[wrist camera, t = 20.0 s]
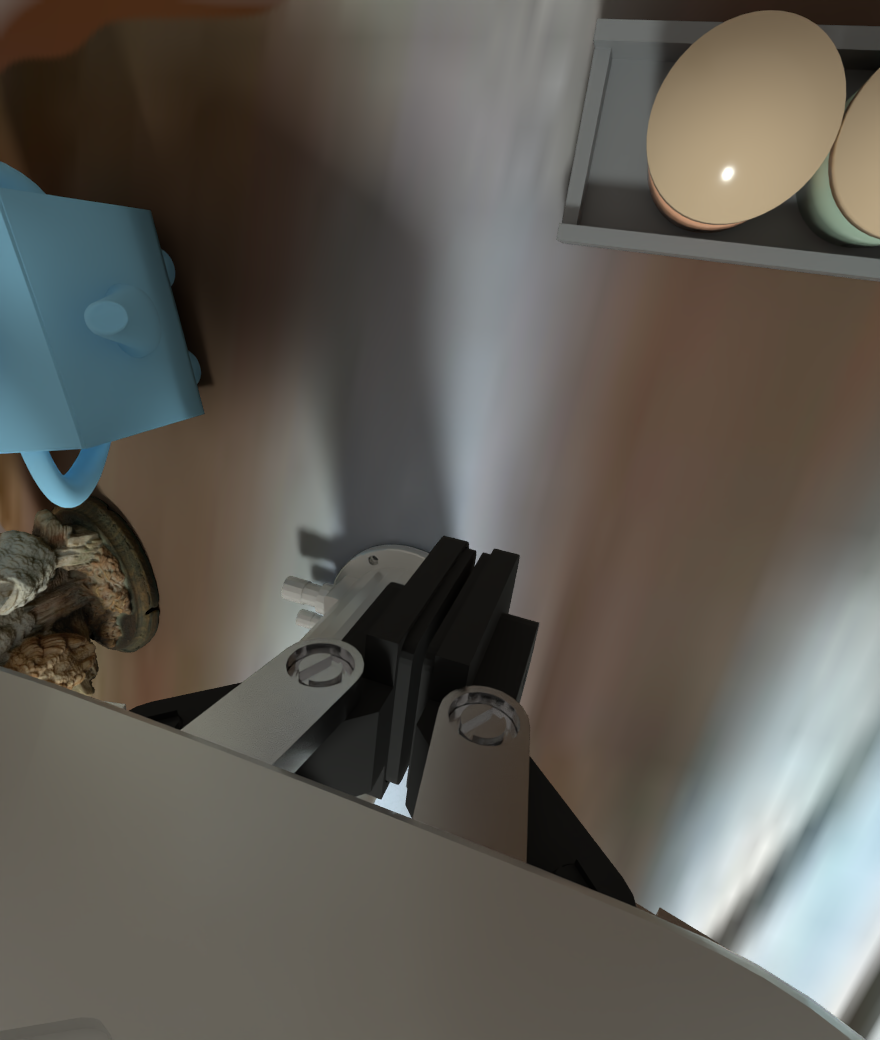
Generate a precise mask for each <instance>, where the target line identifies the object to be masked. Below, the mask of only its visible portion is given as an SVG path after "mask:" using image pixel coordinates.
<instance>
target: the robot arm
mask: <svg viewBox="0 0 880 1040" xmlns="http://www.w3.org/2000/svg"><path fill="white" fill-rule="evenodd" d="M519 557H520V556H519V555H518V554H514V553H510V552H506V551H502V550H498V549H494V550H493V551H492V553H491V554H487V553H482V555H481V557H480V558H479V560H478V562H477V563H476V565H475V560H476V551H475V550H472V549H469V543H468V542H467V541H463V540H459V539H455V538H451V537H447V536H443V537H442V538H441V539H440V540H439V542H438V543H437V544H436V546H435V547H434V548H433V549H432V551H431V552H430V553H427V552H425V551H422V550H419V549H416V548H414V547H409V546H403V545H380V546H376V547H371V548H369V549H367V550H364V551H362V552H360V553H359V554H357V555H356V556H355V557H353V558H352V559H351V560H350V561H349V562H348V563H347V564H346V565H345V566H344V567H343V568H342V569H341V571H340V572H339V574H338V575H337V577H336V579H335V581H334V585H333V584H330V583H325V584H323V586H320V585H317V584H313V583H312V582H311V581H307V580H304V579H300V578H297V577H293V576H289V577H288V578H287V579H286V580H285V582H284V583H283V586H282V590H281V595H282V598H284V599H287V600H290V601H293V602H296V603H300V604H303V605H304V604H307V605H310V606H313V607H315V609H316V612H318V613H320V614H323V615H324V616H322V615H318V614H317V613H314V612H311V611H308V610H305V609H301V610H300V611H299V613H298V615H297V617H296V624H297V625H299V626H302V627H305V628H308V629H310V631H309V632H308V633H307V634H306V635H305V636H304V637H303V638H302V639H301V640H300V641H299V642H297V643H295V644H293V645H292V646H290V647H288V648H287V649H285V650H284V651H283V652H281V653H280V654H279V655H278V656H276V657H275V658H274V659H272V660H271V661H270V662H268V663H267V664H266V665H264V666H263V667H262V668H261V669H259V670H258V671H257V672H255V673H254V674H253V675H251V676H250V677H249V678H248V679H246V680H245V681H244V682H242V683H237V684H233V685H228V686H223V687H219V688H214V689H209V690H205V691H200V692H195V693H191V694H186V695H181V696H177V697H172V698H167V699H162V700H158V701H153V702H150V703H146V704H143V705H140V706H137V707H135V708H133V709H131V710H129V711H127V710H126V704H119V703H113V702H106V701H101V700H98V699H95V698H92V697H90V696H87V695H84V694H81V693H78V692H76V691H73V690H70V689H67V688H65V687H62V686H59V685H56V684H54V683H50V682H47V681H44V680H41V679H38V678H35V677H32V676H29V675H26V674H23V673H20V672H17V671H14V670H11V669H7V668H4V667H1V666H0V1040H866V1039H864V1038H863V1037H862V1036H860V1035H859V1034H858V1033H856V1032H855V1031H854V1030H852V1029H851V1028H850V1027H849V1026H847V1025H846V1024H845V1023H843V1022H842V1021H841V1020H839V1019H838V1018H837V1017H835V1016H834V1015H833V1014H831V1013H830V1012H829V1011H827V1010H826V1009H825V1008H823V1007H822V1006H821V1005H820V1004H818V1003H817V1002H816V1001H814V1000H813V999H811V998H810V997H808V996H807V995H805V994H804V993H802V992H800V991H799V990H797V989H796V988H794V987H792V986H791V985H789V984H788V983H786V982H784V981H783V980H781V979H780V978H778V977H776V976H775V975H773V974H772V973H770V972H769V971H767V970H765V969H764V968H762V967H761V966H759V965H757V964H755V963H753V962H751V961H749V960H748V959H746V958H744V957H742V956H740V955H738V954H736V953H734V952H732V951H731V950H729V949H727V948H726V947H724V946H722V945H721V944H719V943H718V942H716V941H714V940H713V939H711V938H709V937H708V936H706V935H704V934H703V933H701V932H699V931H698V930H696V929H694V928H693V927H691V926H690V925H688V924H686V923H685V922H683V921H681V920H680V919H678V918H676V917H675V916H673V915H671V914H670V913H668V912H666V911H665V910H663V909H662V908H659V910H658V912H657V914H656V915H655V914H653V913H652V912H650V911H648V910H647V909H645V908H643V907H642V906H640V905H639V904H637V903H635V900H634V897H633V894H632V892H631V891H630V889H629V887H628V886H627V884H626V882H625V881H624V879H623V877H622V876H621V875H620V873H619V872H618V871H617V869H616V868H615V867H614V866H613V864H612V863H611V862H610V860H609V859H608V858H607V856H606V855H605V854H604V852H603V851H602V850H601V849H600V847H599V846H598V845H597V843H596V842H595V841H594V839H593V838H592V837H591V835H590V834H589V833H588V832H587V830H586V829H585V828H584V826H583V825H582V824H581V822H580V821H579V820H578V819H577V817H576V816H575V815H574V813H573V812H572V811H571V809H570V808H569V807H568V805H567V804H566V803H565V802H564V800H563V799H562V798H561V796H560V795H559V794H558V792H557V791H556V790H555V788H554V787H553V786H552V785H551V783H550V782H549V781H548V779H547V778H546V777H545V775H544V774H543V773H542V771H541V770H540V769H539V768H538V766H537V765H536V764H535V762H534V761H533V760H532V758H531V757H530V756H529V752H530V724H529V718H528V715H527V714H526V712H525V710H524V709H523V707H522V706H521V705H520V704H519V703H520V699H521V696H522V692H523V689H524V685H525V681H526V677H527V673H528V669H529V665H530V661H531V657H532V653H533V649H534V644H535V640H536V636H537V632H538V627H539V623H538V622H535V621H531V620H528V619H524V618H520V617H517V616H513V615H510V614H508V613H509V608H510V603H511V598H512V593H513V588H514V583H515V578H516V573H517V569H518V564H519ZM474 566H475V567H474ZM408 766H409V769H408V777H407V785H406V787H407V788H408V789H407V796H406V803H405V805H406V807H407V809H408V811H409V813H410V815H411V817H412V819H411V818H409V817H406V816H404V815H401V814H398V813H396V812H393V811H391V810H388V809H386V808H383V807H380V806H378V805H375V804H374V802H375V800H376V798H378V799H382V797H383V795H384V793H385V791H386V789H387V787H388V785H389V783H390V782H392V783H394V784H397V785H399V784H400V782H401V780H402V779H403V776H404V774H405V772H406V770H407V768H408Z"/></svg>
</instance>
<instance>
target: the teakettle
mask: <svg viewBox="0 0 880 1040" xmlns="http://www.w3.org/2000/svg"><path fill="white" fill-rule="evenodd" d="M174 280H175V268H174V264H173V262H172V260H171V258H170V256H169V255H168V254H167V253H166V252H165V251H164V250H162V249H161V247H160V243H159V239H158V235H157V232H156V228H155V224H154V220H153V217H152V213H151V210H145V209H139V208H132V207H125V206H119V205H112V204H106V203H99V202H92V201H86V200H79V199H73V198H66V197H60V196H53V195H46V194H45V193H44V192H43V191H42V190H41V189H40V187H39V186H38V185H37V184H35V183H34V182H33V181H31V180H30V179H29V178H28V177H26V176H25V175H24V174H22V173H21V172H19V171H17V170H15V169H14V168H12V167H10V166H9V165H7V164H5V163H3V162H0V454H2V453H21V455H22V457H23V459H24V461H25V463H26V465H27V467H28V469H29V471H30V473H31V475H32V477H33V479H34V480H35V482H36V483H37V485H38V487H39V488H40V490H41V491H42V492H43V493H44V495H45V496H46V497H47V498H48V499H49V500H50V501H51V502H53V503H54V504H56V505H58V506H60V507H64V508H73V507H76V506H78V505H80V504H82V503H83V502H84V501H85V500H86V499H87V498H88V497H89V496H90V494H91V493H92V491H93V490H94V488H95V487H96V485H97V483H98V481H99V479H100V477H101V474H102V471H103V468H104V465H105V462H106V458H107V455H108V451H109V448H110V444H111V441H115V440H118V439H122V438H125V437H128V436H132V435H135V434H138V433H142V432H145V431H148V430H152V429H155V428H158V427H162V426H165V425H169V424H172V423H175V422H179V421H182V420H185V419H189V418H192V417H195V416H199V415H202V414H204V410H203V406H202V402H201V398H200V394H199V391H198V387H197V383H198V382H199V380H200V377H201V368H200V365H199V362H198V360H197V359H196V357H195V356H194V355H193V354H192V353H191V352H190V351H188V349H187V345H186V341H185V337H184V333H183V330H182V326H181V322H180V318H179V315H178V311H177V307H176V303H175V299H174V296H173V292H172V288H171V286H172V285H173V283H174ZM74 449H81V451H80V453H79V455H78V457H77V459H76V461H75V462H74V464H73V465H72V467H71V468H70V469H69V471H68V472H67V473H66V474H65V475H62V474H61V472H60V471H59V470H58V468H57V466H56V465H55V463H54V461H53V459H52V457H51V455H50V453H49V451H56V450H74Z"/></svg>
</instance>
